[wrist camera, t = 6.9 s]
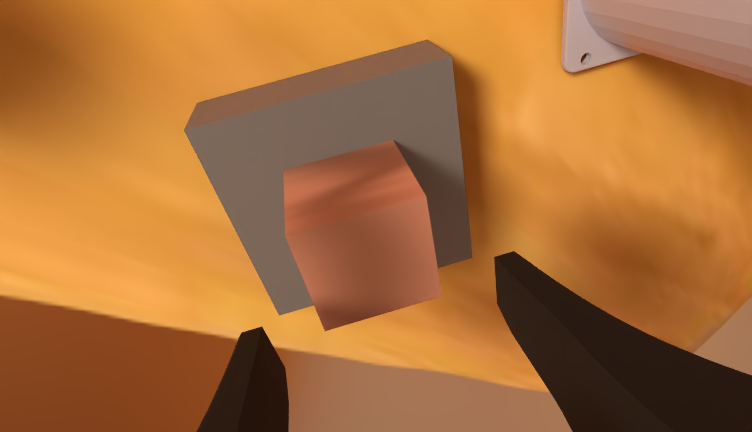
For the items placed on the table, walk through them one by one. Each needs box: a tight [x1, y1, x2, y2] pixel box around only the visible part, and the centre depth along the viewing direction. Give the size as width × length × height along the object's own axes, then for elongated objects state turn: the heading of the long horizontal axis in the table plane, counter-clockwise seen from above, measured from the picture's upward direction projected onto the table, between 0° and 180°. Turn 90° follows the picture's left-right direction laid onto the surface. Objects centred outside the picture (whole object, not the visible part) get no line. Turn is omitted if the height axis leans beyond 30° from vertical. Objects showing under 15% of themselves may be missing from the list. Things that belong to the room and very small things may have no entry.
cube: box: [283, 140, 442, 331], centre depth 16 cm, size 4×4×4 cm
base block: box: [184, 40, 472, 315], centre depth 19 cm, size 10×10×3 cm
